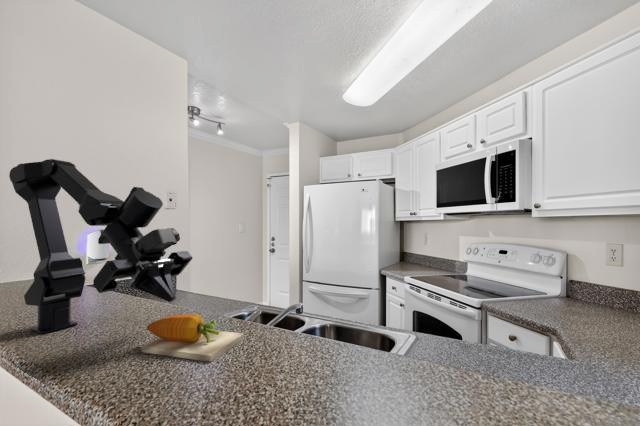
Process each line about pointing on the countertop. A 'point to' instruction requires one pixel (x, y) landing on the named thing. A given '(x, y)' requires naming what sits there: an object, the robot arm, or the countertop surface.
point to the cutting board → (195, 346)
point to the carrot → (182, 328)
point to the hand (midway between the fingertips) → (172, 300)
